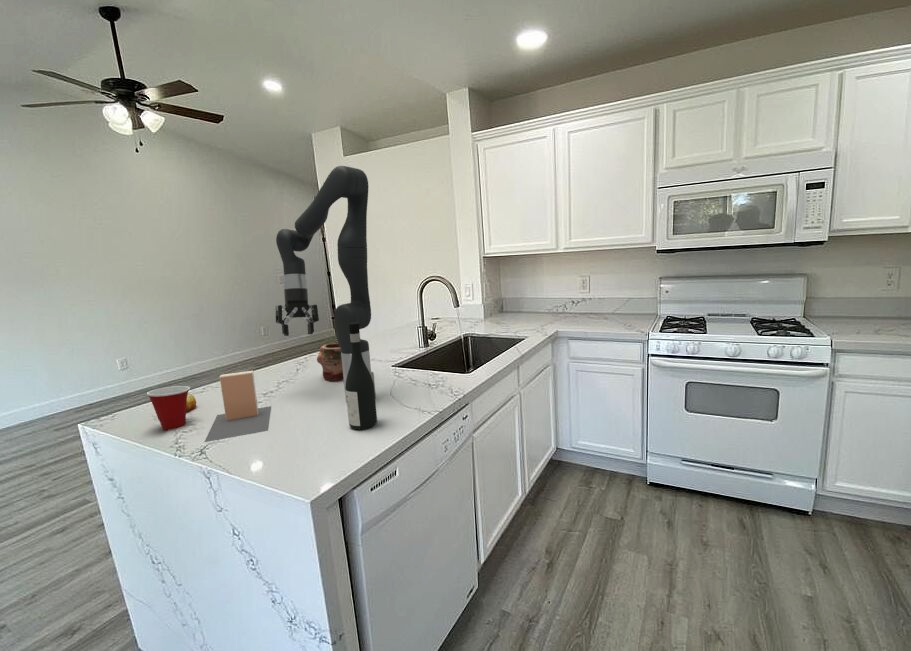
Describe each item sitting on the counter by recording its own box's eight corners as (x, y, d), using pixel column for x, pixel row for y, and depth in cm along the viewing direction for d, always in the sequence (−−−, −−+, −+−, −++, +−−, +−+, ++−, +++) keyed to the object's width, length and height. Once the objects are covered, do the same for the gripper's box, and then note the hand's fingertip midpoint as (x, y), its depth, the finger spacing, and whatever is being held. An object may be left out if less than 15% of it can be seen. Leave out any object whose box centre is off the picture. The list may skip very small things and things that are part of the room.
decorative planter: (369, 375, 174) (366, 342, 171) (353, 384, 162) (349, 349, 160) (328, 373, 180) (325, 341, 178) (310, 381, 169) (306, 347, 167)
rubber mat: (217, 416, 136) (217, 414, 136) (271, 407, 141) (271, 406, 141) (204, 443, 115) (204, 441, 115) (268, 432, 121) (268, 430, 121)
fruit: (204, 408, 143) (193, 389, 140) (171, 427, 136) (159, 407, 133) (193, 401, 150) (183, 382, 147) (162, 418, 143) (150, 399, 140)
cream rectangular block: (227, 418, 132) (220, 374, 130) (258, 412, 136) (252, 370, 133) (226, 421, 130) (219, 377, 127) (258, 415, 133) (252, 372, 131)
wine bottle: (353, 433, 117) (342, 326, 112) (346, 423, 124) (336, 323, 119) (381, 426, 121) (372, 322, 116) (373, 417, 128) (364, 319, 123)
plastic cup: (203, 422, 131) (197, 385, 129) (168, 436, 122) (161, 396, 120) (181, 418, 136) (175, 382, 134) (145, 431, 126) (138, 393, 124)
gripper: (279, 286, 138) (282, 336, 139) (320, 287, 148) (323, 333, 149) (270, 289, 144) (273, 336, 144) (310, 289, 154) (313, 334, 154)
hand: (298, 335), depth 146 cm, fingers open, 8 cm apart
